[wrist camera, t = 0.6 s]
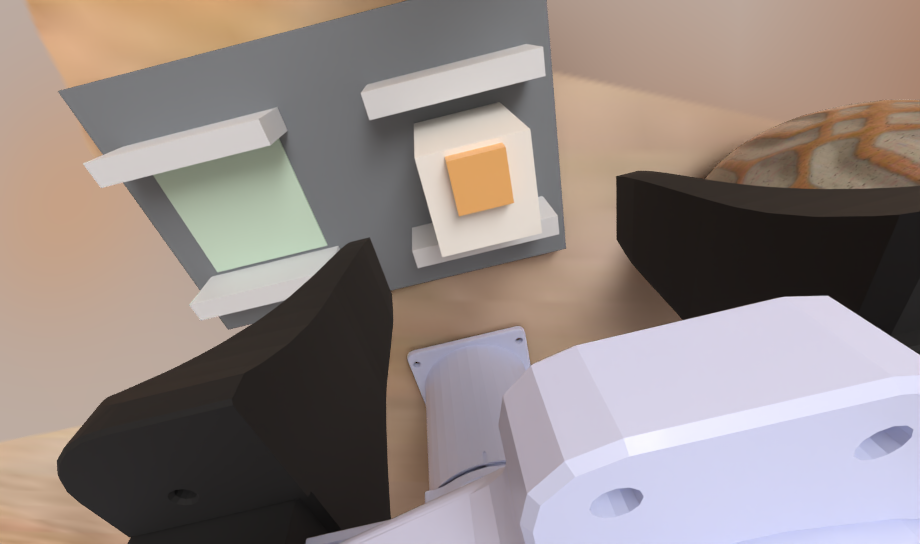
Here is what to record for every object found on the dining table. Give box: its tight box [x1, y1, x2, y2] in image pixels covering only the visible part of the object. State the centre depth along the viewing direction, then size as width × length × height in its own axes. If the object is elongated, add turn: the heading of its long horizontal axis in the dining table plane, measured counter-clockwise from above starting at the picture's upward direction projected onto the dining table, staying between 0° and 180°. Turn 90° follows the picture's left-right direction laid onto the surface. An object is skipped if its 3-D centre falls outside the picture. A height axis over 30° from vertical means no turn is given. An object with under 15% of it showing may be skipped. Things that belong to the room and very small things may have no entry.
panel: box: [58, 0, 566, 329], centre depth 18 cm, size 13×20×4 cm, turn 102°
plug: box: [414, 102, 542, 257], centre depth 16 cm, size 4×4×6 cm
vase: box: [705, 100, 920, 189], centre depth 16 cm, size 13×13×18 cm
